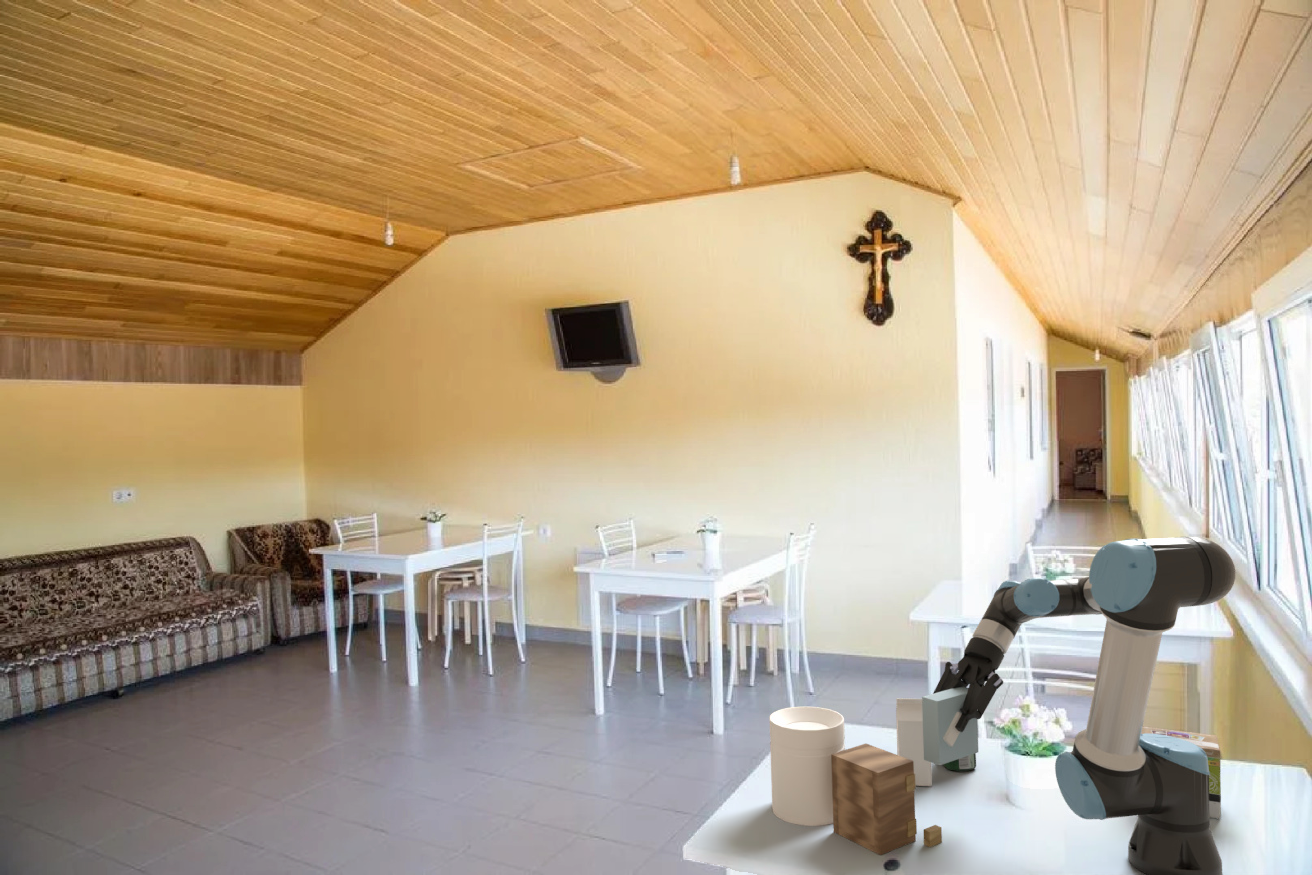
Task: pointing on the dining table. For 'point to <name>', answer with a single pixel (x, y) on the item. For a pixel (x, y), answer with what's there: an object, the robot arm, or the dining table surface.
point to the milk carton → (912, 738)
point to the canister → (804, 763)
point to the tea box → (1213, 754)
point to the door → (946, 727)
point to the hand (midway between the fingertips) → (938, 739)
